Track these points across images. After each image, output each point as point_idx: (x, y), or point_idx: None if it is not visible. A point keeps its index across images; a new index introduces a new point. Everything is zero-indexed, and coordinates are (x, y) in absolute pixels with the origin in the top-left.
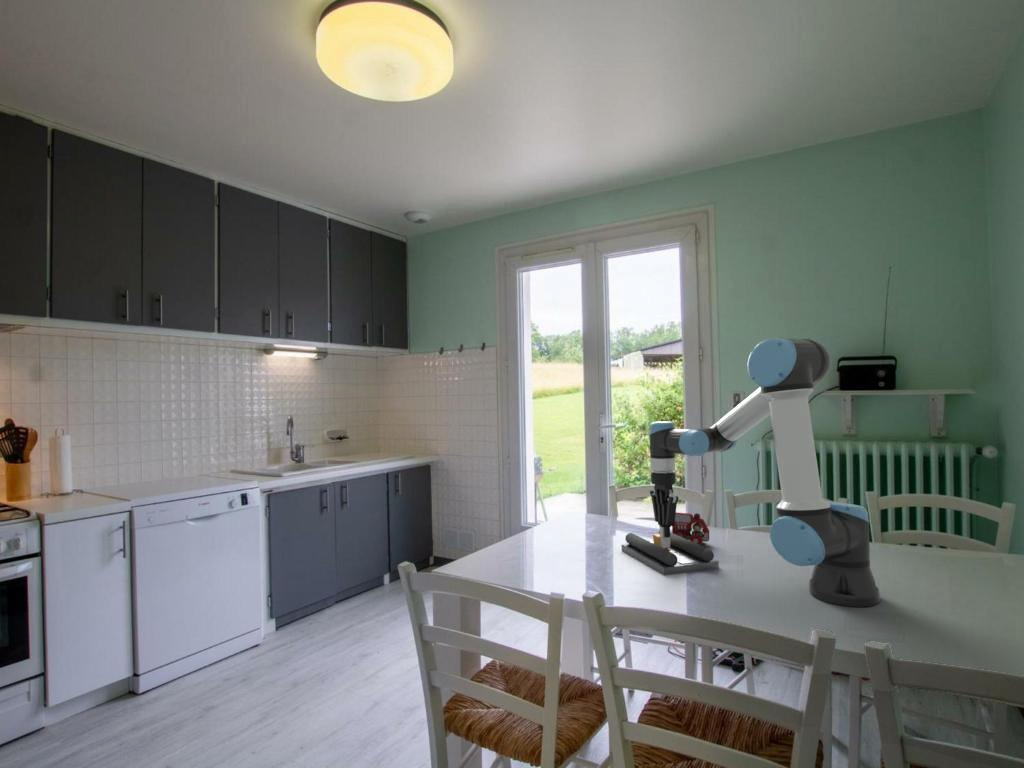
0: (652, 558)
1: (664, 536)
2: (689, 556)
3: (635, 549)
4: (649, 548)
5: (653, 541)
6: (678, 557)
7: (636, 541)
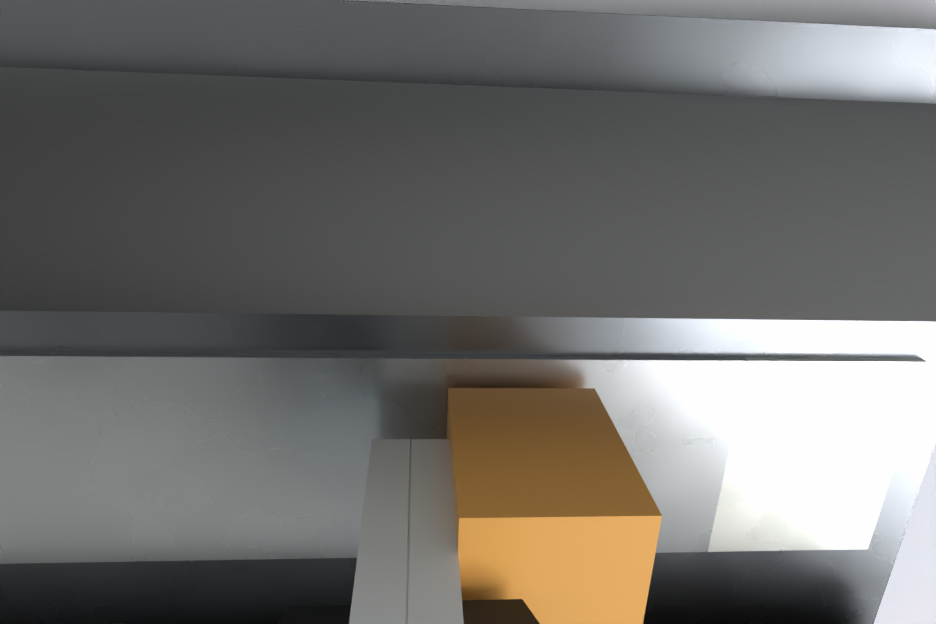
0: None
1: (348, 612)
2: (93, 600)
3: None
4: (141, 93)
5: (614, 436)
6: (45, 460)
7: (724, 116)
